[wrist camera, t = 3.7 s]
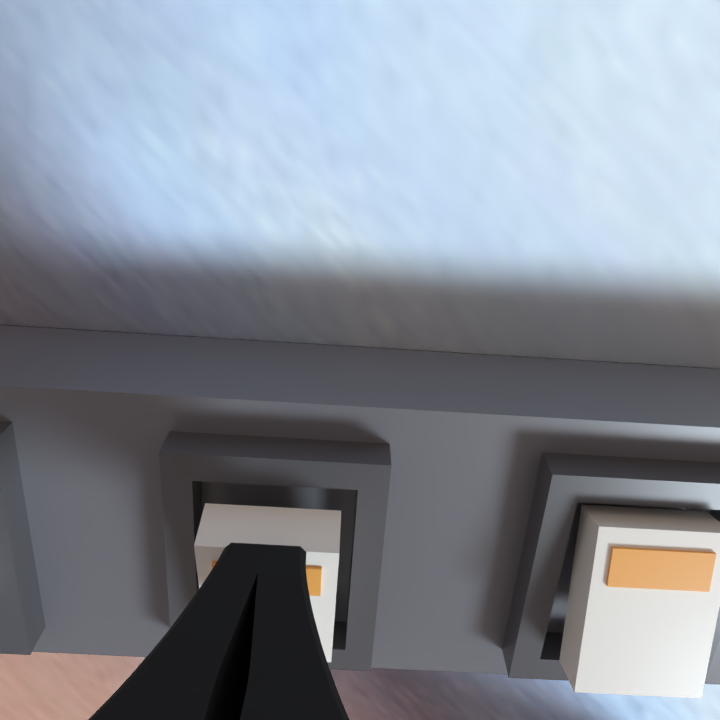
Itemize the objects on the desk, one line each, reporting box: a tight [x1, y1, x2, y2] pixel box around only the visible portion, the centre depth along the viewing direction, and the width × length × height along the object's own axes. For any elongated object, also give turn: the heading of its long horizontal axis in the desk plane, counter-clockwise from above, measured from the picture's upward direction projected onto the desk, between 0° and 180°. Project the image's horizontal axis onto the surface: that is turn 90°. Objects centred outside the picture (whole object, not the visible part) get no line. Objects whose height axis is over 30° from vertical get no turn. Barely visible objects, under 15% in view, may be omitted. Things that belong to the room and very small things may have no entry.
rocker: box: [559, 505, 720, 698], centre depth 14 cm, size 3×4×1 cm
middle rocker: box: [194, 503, 341, 662], centre depth 14 cm, size 3×4×1 cm
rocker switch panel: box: [0, 325, 720, 684], centre depth 16 cm, size 32×7×4 cm, turn 86°
